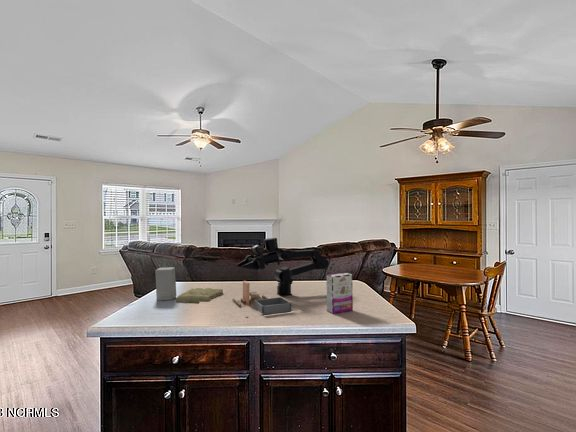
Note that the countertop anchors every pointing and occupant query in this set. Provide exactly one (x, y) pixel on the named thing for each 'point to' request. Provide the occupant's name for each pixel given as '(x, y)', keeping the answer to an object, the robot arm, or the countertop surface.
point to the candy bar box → (339, 293)
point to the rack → (243, 303)
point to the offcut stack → (254, 296)
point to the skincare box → (165, 283)
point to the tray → (272, 305)
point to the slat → (246, 292)
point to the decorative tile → (199, 295)
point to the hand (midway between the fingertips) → (239, 266)
